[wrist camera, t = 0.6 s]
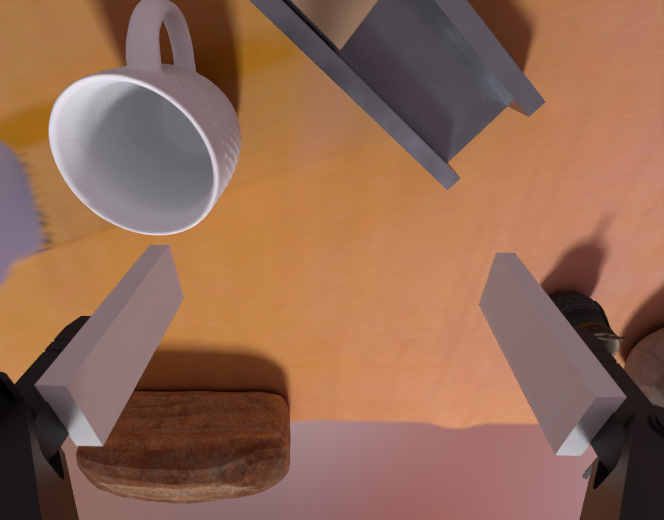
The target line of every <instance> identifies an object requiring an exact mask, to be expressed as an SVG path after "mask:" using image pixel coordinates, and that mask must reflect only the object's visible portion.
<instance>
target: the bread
mask: <svg viewBox="0 0 664 520" xmlns="http://www.w3.org/2000/svg"><path fill="white" fill-rule="evenodd" d="M76 457H77V465H78V467H79V468H80V470H81V471H82V473H83V474H84V475H85V476H86V478H87V479H88V480H89V481H90V482H91V483H92V484H93V485H95V486H96V487H97V488H98V489H101V490H104V491H108V492H110V493H112V494H114V495H117V496H121V497H124V498H131V499H139V500H146V501H158V502H169V503H200V502H209V501H217V500H224V499H232V498H239V497H244V496H249V495H254V494H257V493H260V492H262V491H265V490H267V489H269V488H270V487H272V486H274V485H276V484H277V483H278V482H280V481H281V480H282V479H283V478H284V477H285V475H286V474H287V473H288V471H289V467H290V413H289V409H288V406H287V403H286V402H285V400H284V399H283V398H282V397H281V396H280V395H277V394H273V393H267V392H260V391H255V392H210V391H182V392H148V391H133V392H132V394H131V396H130V398H129V400H128V401H127V403H126V405H125V407H124V409H123V411H122V412H121V414H120V416H119V418H118V420H117V422H116V423H115V425H114V427H113V429H112V431H111V433H110V434H109V436H108V438H107V440H106V442H105V444H104V445H103V446H79V447H78V449H77V452H76Z"/></svg>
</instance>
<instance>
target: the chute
mask: <svg viewBox="0 0 664 520" xmlns="http://www.w3.org/2000/svg"><path fill="white" fill-rule="evenodd" d="M250 1H251V2H252V3H253V4H254V5H255V6H256V7H257V8H258V9H259V10H260V11H261V12H262V13H263V14H264V15H265V16H266V17H267V18H268V19H270V20H271V21H272V22H273V23H274V24H275V25H276V26H277V27H278V28H279V29H280V30H281V31H282V32H283V33H284V34H285V35H286V36H287V37H288V38H289V39H290V40H291V41H292V42H294V43H295V44H296V45H297V46H298V47H299V48H300V49H301V50H302V51H303V52H304V53H305V54H306V55H307V56H308V57H309V58H310V59H311V60H312V61H313V62H314V63H315V64H316V65H317V66H319V67H320V68H321V69H322V70H323V71H324V72H325V73H326V74H327V75H328V76H329V77H330V78H331V79H332V80H333V81H334V82H335V83H336V84H337V85H338V86H339V87H340V88H341V89H343V90H344V91H345V92H346V93H347V94H348V95H349V96H350V97H351V98H352V99H353V100H354V101H355V102H356V103H357V104H358V105H359V106H360V107H361V108H362V109H363V110H364V111H365V112H367V113H368V114H369V115H370V116H371V117H372V118H373V119H374V120H375V121H376V122H377V123H378V124H379V125H380V126H381V127H382V128H383V129H384V130H385V131H386V132H387V133H388V134H389V135H390V136H392V137H393V138H394V139H395V140H396V141H397V142H398V143H399V144H400V145H401V146H402V147H403V148H404V149H405V150H406V151H407V152H408V153H409V154H410V155H411V156H412V157H413V158H414V159H416V160H417V161H418V162H419V163H420V164H421V165H422V166H423V167H424V168H425V169H426V170H427V171H428V172H429V173H430V174H431V175H432V176H433V177H434V178H435V179H436V180H437V181H438V182H439V183H441V184H442V185H443V186H444V187H445V188H446V189H447V190H448V189H449V188H450V187H451V186H453V185H454V184H455V183H456V182H457V181H458V180H459V179H460V177H459V176H458V175H457V173H456V172H455V171H454V170H453V168H452V167H451V166H450V165H449V163H448V162H449V161H450V160H451V159H452V158H453V157H454V156H455V155H456V154H457V153H458V152H459V151H460V150H462V149H463V148H464V147H465V146H466V145H467V144H468V143H469V142H470V141H471V140H472V139H473V138H474V137H475V136H476V135H477V134H479V133H480V132H481V131H482V130H483V129H484V128H485V127H486V126H487V125H488V124H489V123H490V122H491V121H492V120H493V119H494V118H496V117H497V116H498V115H499V114H500V113H501V112H502V111H503V110H504V109H505V108H506V107H507V106H508V107H510V108H512V109H514V110H516V111H518V112H520V113H522V114H524V115H526V116H528V117H529V116H530V115H531V114H533V113H534V112H535V111H536V110H537V109H538V108H539V107H540V106H541V105H543V104H544V103H545V101H544V99H543V98H542V97H541V95H540V94H539V93H538V92H537V90H536V89H535V88H534V86H533V85H532V84H531V83H530V81H529V80H528V79H527V77H526V76H525V75H524V73H523V72H522V71H521V70H520V68H519V67H518V66H517V64H516V63H515V62H514V61H513V59H512V58H511V57H510V55H509V54H508V53H507V51H506V50H505V49H504V48H503V46H502V45H501V44H500V42H499V41H498V40H497V39H496V37H495V36H494V35H493V33H492V32H491V31H490V29H489V28H488V27H487V26H486V24H485V23H484V22H483V20H482V19H481V18H480V16H479V15H478V14H477V13H476V11H475V10H474V9H473V7H472V6H471V5H470V4H469V2H468V1H467V0H378V1H377V2H376V4H375V5H374V6H373V8H372V9H371V10H370V12H369V13H368V14H367V16H366V17H365V18H364V20H363V21H362V22H361V24H360V25H359V26H358V28H357V29H356V30H355V31H354V33H353V34H352V35H351V37H350V38H349V39H348V41H347V42H346V43H345V45H344V46H343V47H342V49H341V50H339V49H338V48H337V47H336V46H335V45H334V44H333V43H332V42H331V41H330V40H329V39H328V37H327V36H326V35H325V34H324V33H323V32H322V31H321V30H320V29H319V28H318V27H317V26H316V25H315V24H314V23H313V22H312V21H311V20H310V19H309V18H308V17H307V16H306V15H305V14H304V13H303V12H302V11H301V10H300V9H299V8H298V7H297V6H296V5H295V4H294V3H293V2H292V1H291V0H250Z"/></svg>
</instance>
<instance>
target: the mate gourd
mask: <svg viewBox="0 0 664 520" xmlns="http://www.w3.org/2000/svg"><path fill="white" fill-rule="evenodd" d="M549 298H550V299H551V300H552V301H553V303H554V304H555V305H556V307H557V308H558V309H559V310H560V312H561V313H562V314H563V316H564V317H565V318H566V319H567V321H568V322H569V323H570V325H571V326H582V327H584V328H585V329H587V330H588V331H589V332H591V333H592V334H593V335H595V336H596V337H597V338H598V339H599V340H600V341H601V343H602V344H603V345H604V346H605V347H606V349H607V350H608V353H611V355H612V356H614V355H615V354H616V353H617V351H618V349H619V347H620V340H622V341H623V340H624V339H629V338H626V337H618V336H617V335H616V334H615V333H614V332H613V331H612V330H611V328H610V325H609V323H608V319H607V317H606V315H605V312H604V310H603V308H602V307H601V306H600V305H599V304H598V303H597V302H596V301H593V300H592V299H591V298H589V297H587V296H585V295H583V294H581V293H578V292H561V293H557V294H555V295H552V296H550V297H549Z"/></svg>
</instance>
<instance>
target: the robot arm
mask: <svg viewBox="0 0 664 520" xmlns="http://www.w3.org/2000/svg"><path fill="white" fill-rule="evenodd" d="M183 299H184V297H183V293H182V290H181V286H180V282H179V278H178V275H177V271H176V267H175V264H174V260H173V256H172V252H171V249H170V245H150V246H149V247H148V248H147V249H146V251H145V252H144V253H143V254H142V255H141V257H140V258H139V259H138V260H137V262H136V263H135V264H134V265H133V266H132V268H131V269H130V270H129V271H128V272H127V274H126V275H125V276H124V277H123V278H122V280H121V281H120V282H119V283H118V284H117V286H116V287H115V288H114V289H113V291H112V292H111V293H110V294H109V295H108V297H107V298H106V299H105V300H104V301H103V303H102V304H101V305H100V306H99V307H98V309H97V310H96V311H95V312H94V314H93V315H92V316H80V317H79V318H78V319H76V320H75V321H73V322H72V323H70V324H69V325H67V326H66V327H65V328H64V329H63V330H62V331H61V332H60V333H59V335H58V336H57V337H56V338H55V339H54V342H52V343H51V344H50V345H49V346H48V347H47V348H46V349H45V352H43V353H42V354H41V355H40V356H39V357H38V358H37V360H36V361H35V362H34V363H33V364H32V365H31V366H30V367H29V369H28V370H27V371H26V372H25V373H24V374H23V375H22V377H21V378H20V379H19V380H18V381H17V382H16V383H15V384H14V383H13V382H12V381H11V379H10V378H9V377H8V375H7V374H6V373H3V372H0V520H79V518H78V513H77V509H76V504H75V499H74V495H73V490H72V486H71V481H70V476H69V472H68V467H67V462H66V458H65V453H64V452H63V450H62V449H61V445H62V444H63V442H64V441H65V439H66V438H67V436H68V435H70V437H71V439H72V440H73V442H74V443H75V444H76V445H77V446H103V445H104V444H105V442H106V440H107V438H108V436H109V434H110V433H111V431H112V429H113V427H114V425H115V423H116V422H117V420H118V418H119V416H120V414H121V412H122V411H123V409H124V407H125V405H126V403H127V401H128V400H129V398H130V396H131V394H132V392H133V390H134V389H135V387H136V385H137V383H138V381H139V379H140V378H141V376H142V374H143V372H144V370H145V368H146V367H147V365H148V363H149V361H150V359H151V358H152V356H153V354H154V352H155V350H156V348H157V347H158V345H159V343H160V341H161V339H162V337H163V336H164V334H165V332H166V330H167V328H168V326H169V325H170V323H171V321H172V319H173V317H174V315H175V314H176V312H177V310H178V308H179V306H180V304H181V303H182V301H183ZM479 306H480V308H481V310H482V312H483V314H484V316H485V318H486V320H487V322H488V324H489V326H490V328H491V330H492V332H493V334H494V335H495V337H496V339H497V341H498V343H499V345H500V347H501V349H502V351H503V353H504V355H505V357H506V359H507V361H508V363H509V365H510V367H511V369H512V371H513V373H514V375H515V377H516V379H517V381H518V383H519V385H520V387H521V389H522V391H523V393H524V395H525V397H526V399H527V401H528V403H529V405H530V407H531V409H532V410H533V412H534V414H535V416H536V418H537V420H538V422H539V424H540V426H541V428H542V430H543V432H544V434H545V436H546V438H547V440H548V442H549V444H550V446H551V448H552V450H553V452H554V454H555V455H575V456H577V455H578V456H581V455H582V454H583V453H584V451H585V450H586V449H587V448H588V446H589V445H590V444H591V446H592V447H593V449H594V451H595V452H596V454H597V456H598V457H597V458H596V459H595V460H594V462H593V463H592V464H591V465H590V466H589V468H588V469H587V470H586V471H585V473H584V474H583V476H582V477H584V478H585V479H587V478H588V477H589V475H590V478H589V482H588V487H587V491H586V495H585V499H584V503H583V507H582V512H581V516H580V520H664V408H663V407H661V406H658V405H653V404H652V403H651V402H650V401H649V399H648V398H647V397H646V396H645V395H644V393H643V392H642V391H641V390H640V389H639V387H638V386H637V385H636V384H635V382H634V381H633V380H632V379H631V378H630V376H629V375H628V374H627V373H626V372H625V370H624V369H623V368H622V367H621V366H620V364H617V363H616V360H615V358H614V357H613V356H612V355H611V353H608V350H607V349H606V347H605V346H604V345H603V344H602V343H601V341H600V340H599V339H598V338H597V337H596V336H595V335H593V334H592V333H591V332H589V331H588V330H587V329H585V328H584V327H582V326H571V325H570V323H569V322H568V321H567V319H566V318H565V317H564V316H563V314H562V313H561V312H560V310H559V309H558V308H557V307H556V305H555V304H554V303H553V301H552V300H551V299H550V298H549V296H548V295H547V294H546V292H545V291H544V290H543V289H542V287H541V286H540V285H539V283H538V282H537V281H536V279H535V278H534V277H533V276H532V274H531V273H530V272H529V270H528V269H527V268H526V267H525V265H524V264H523V263H522V261H521V260H520V259H519V258H518V256H517V255H516V254H515V253H496V255H495V258H494V261H493V264H492V267H491V270H490V273H489V276H488V279H487V282H486V285H485V288H484V291H483V294H482V297H481V300H480V303H479Z"/></svg>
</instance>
